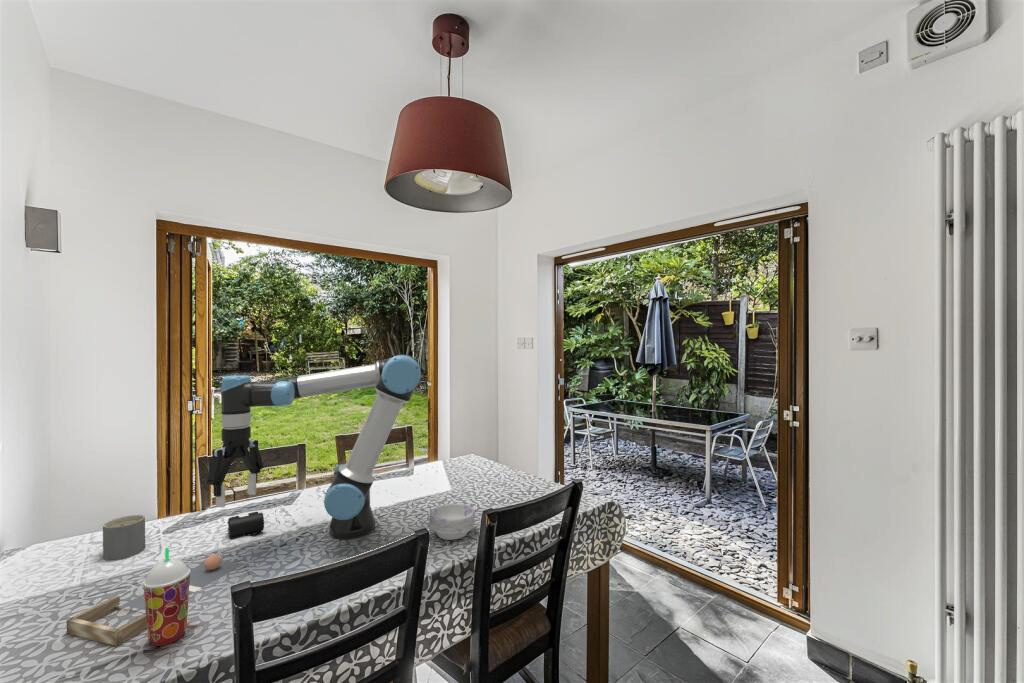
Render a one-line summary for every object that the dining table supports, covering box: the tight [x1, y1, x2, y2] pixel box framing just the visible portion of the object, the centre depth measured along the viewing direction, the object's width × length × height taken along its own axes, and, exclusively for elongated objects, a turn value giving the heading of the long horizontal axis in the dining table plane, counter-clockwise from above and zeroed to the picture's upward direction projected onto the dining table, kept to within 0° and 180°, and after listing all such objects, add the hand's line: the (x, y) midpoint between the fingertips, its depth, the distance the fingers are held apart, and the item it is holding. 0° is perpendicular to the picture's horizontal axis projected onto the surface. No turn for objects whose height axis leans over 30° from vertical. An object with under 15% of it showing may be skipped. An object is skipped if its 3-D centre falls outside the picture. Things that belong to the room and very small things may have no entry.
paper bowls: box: [429, 503, 476, 541], centre depth 149 cm, size 15×15×8 cm
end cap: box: [227, 511, 265, 539], centre depth 150 cm, size 10×7×7 cm
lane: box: [122, 559, 245, 615], centre depth 119 cm, size 12×24×1 cm, turn 164°
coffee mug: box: [102, 514, 146, 561], centre depth 140 cm, size 13×10×10 cm
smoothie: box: [142, 547, 191, 647], centre depth 98 cm, size 8×8×20 cm
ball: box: [203, 554, 222, 570], centre depth 126 cm, size 4×4×4 cm
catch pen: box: [66, 595, 148, 647], centre depth 103 cm, size 16×10×3 cm, turn 74°
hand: (236, 500), depth 133 cm, fingers open, 10 cm apart
